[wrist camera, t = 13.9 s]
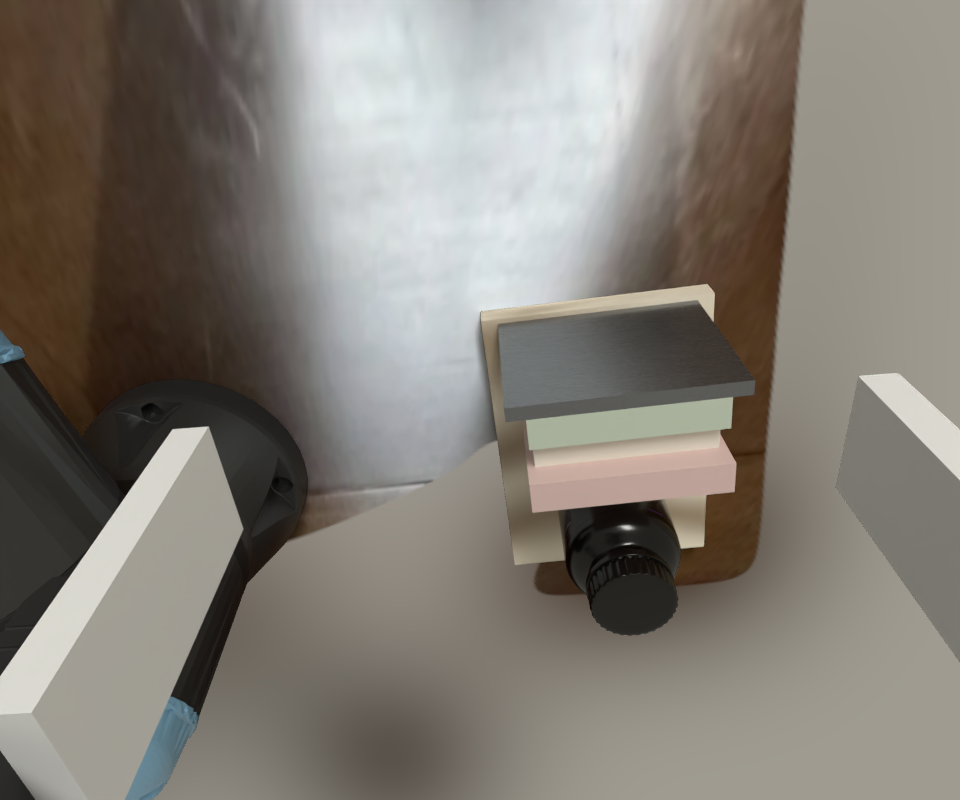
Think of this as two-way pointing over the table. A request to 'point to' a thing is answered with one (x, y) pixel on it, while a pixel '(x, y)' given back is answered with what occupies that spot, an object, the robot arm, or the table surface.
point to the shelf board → (529, 531)
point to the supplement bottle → (624, 563)
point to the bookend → (616, 361)
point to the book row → (629, 455)
